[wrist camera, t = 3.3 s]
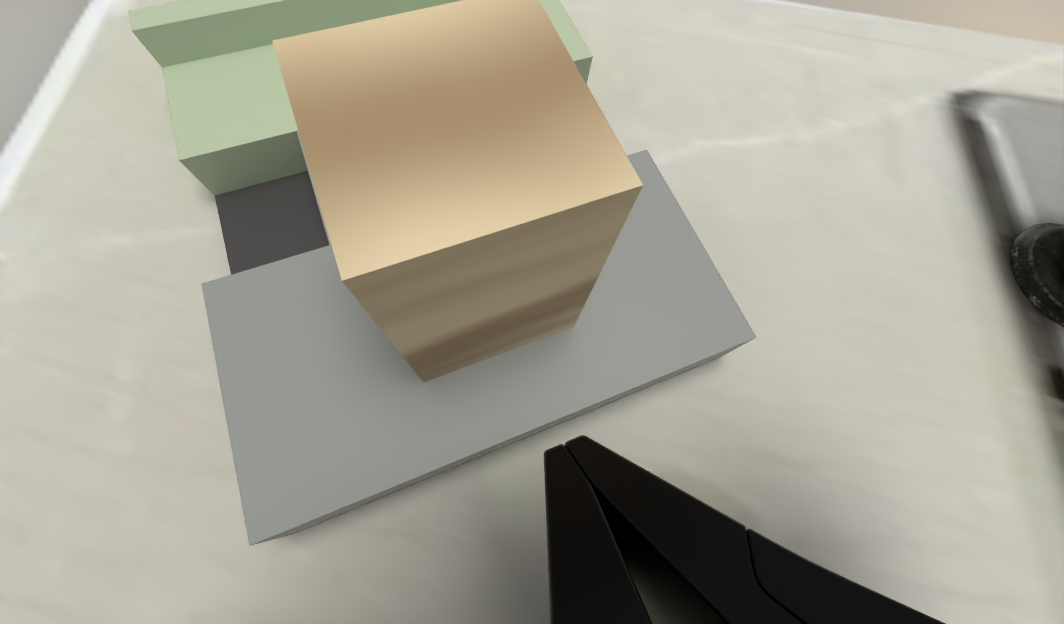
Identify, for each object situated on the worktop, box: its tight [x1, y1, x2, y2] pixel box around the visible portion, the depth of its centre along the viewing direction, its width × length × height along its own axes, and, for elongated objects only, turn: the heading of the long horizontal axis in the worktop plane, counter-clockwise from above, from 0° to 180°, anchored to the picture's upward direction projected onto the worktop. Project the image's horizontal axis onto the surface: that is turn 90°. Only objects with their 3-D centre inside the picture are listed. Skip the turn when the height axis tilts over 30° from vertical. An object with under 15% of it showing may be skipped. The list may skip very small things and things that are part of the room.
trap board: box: [129, 0, 756, 546], centre depth 17 cm, size 18×16×4 cm
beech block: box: [272, 0, 643, 382], centre depth 11 cm, size 5×5×8 cm
